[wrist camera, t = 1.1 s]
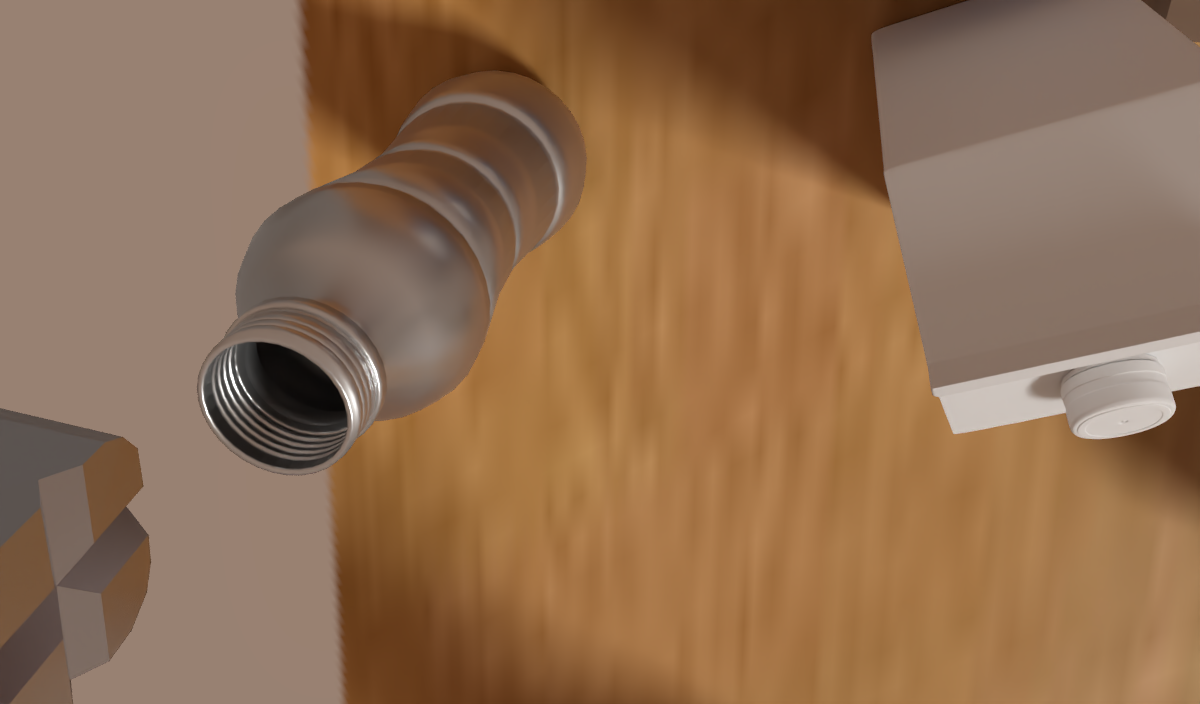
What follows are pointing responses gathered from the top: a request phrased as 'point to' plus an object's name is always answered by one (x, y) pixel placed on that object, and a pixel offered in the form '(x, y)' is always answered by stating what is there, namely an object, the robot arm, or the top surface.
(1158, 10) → the stand
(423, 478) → the top surface
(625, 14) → the top surface
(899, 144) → the milk carton
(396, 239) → the plastic bottle
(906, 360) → the top surface
